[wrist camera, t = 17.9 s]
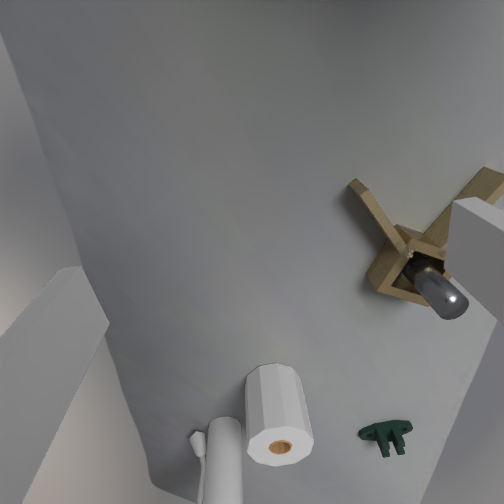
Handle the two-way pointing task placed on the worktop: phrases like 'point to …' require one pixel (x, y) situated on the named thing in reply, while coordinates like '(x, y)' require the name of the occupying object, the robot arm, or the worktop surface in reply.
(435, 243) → the tan piece
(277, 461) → the toilet paper
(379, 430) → the mount
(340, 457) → the worktop surface
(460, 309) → the hinge pin
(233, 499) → the fire extinguisher
